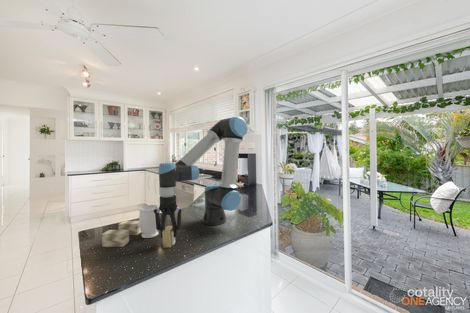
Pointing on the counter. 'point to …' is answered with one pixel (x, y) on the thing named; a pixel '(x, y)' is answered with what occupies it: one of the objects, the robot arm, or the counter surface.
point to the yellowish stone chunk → (167, 237)
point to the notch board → (120, 234)
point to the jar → (148, 221)
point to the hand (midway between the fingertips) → (169, 243)
